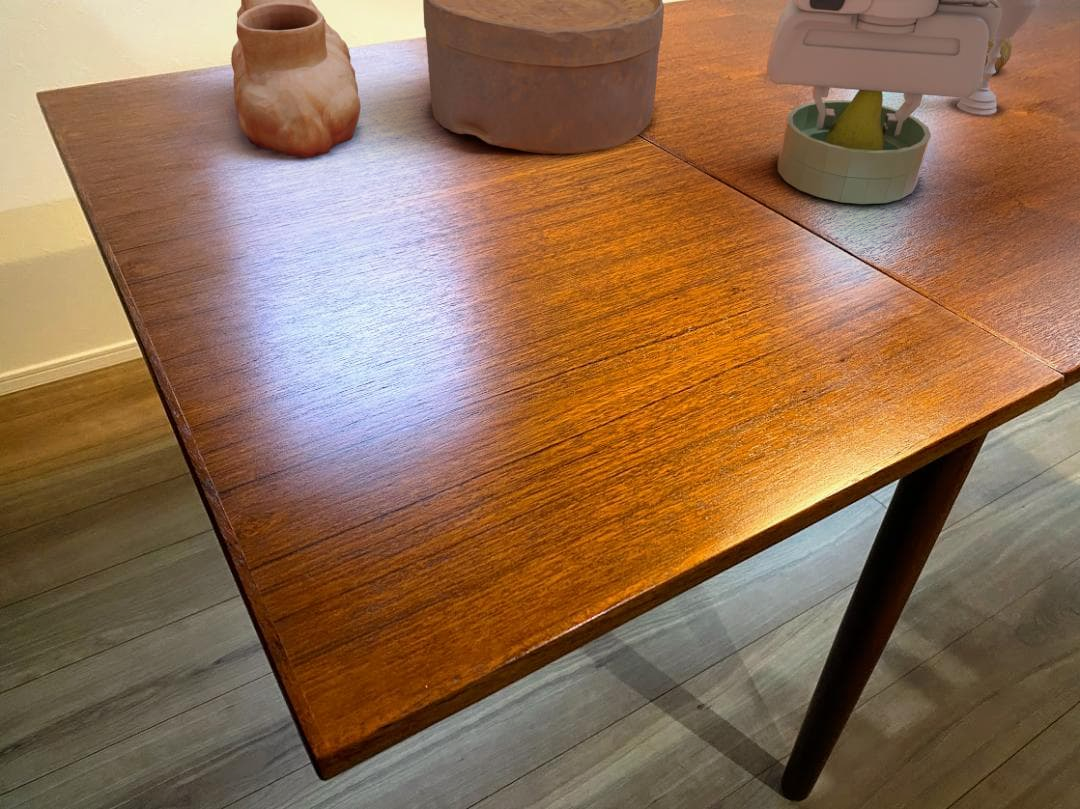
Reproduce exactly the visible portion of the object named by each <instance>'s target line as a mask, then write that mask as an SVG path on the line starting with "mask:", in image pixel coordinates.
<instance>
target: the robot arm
mask: <svg viewBox="0 0 1080 809" xmlns="http://www.w3.org/2000/svg"><path fill="white" fill-rule="evenodd" d="M989 3H992V4H993V5H994V6H987V5H989ZM1001 17H1002V8H1001V5H1000V3H999V2H998V1H997V0H791V1H789V2H788V3H787V5H786V6H785V7H784V8H783V10H782V11H781V13H780V16H779V18H778V21H777V24H776V27H775V30H774V33H773V36H772V40H771V43H770V47H769V52H768V58H767V61H766V74H767V76H768V78H769V79H770V81H771V82H772V83H773V84H777V85H787V86H788V85H790V86H802V87H803V86H804V87H812V90H811V91H812V98H813V100H814V102H815V103H816V106H817V109H818V111H819V113H818V118H817V124H816V127H817V130H832V127H833V124H832V123H833V122H834V118H835V113H834V109H828V108H826V106H825V104H824V101H825V100H824V98H825V99H826V98H828V96H829V92H830V89H841V90H843V89H844V90H855V91H859V90H867V91H881V92H882V93H895V94H902V98H903V100H904V102H903V103H902V104H901V106H899V108H897V109H896V110H897V111H896V113H895V114H890V113H887V114H886V117H885V121H886V122H885V123H884V125H883V134H884V135H888V136H899V134H900V131H901V128H902V124H903V120H904V121H905V120H906V119H907V118H908V117H909V116H910V115H911V116H912V114H913V113H914V112H915V111H916V110H917V109H918V108H919V107H920V105H921V101H922V98H923V96H937V97H946V98H947V97H948V98H949V97H951V98H959V99H961V98H967V97H969V96H970V95H971V94H973V93H974V92H975V91H976V90H977V89H978V88H979V86H980V83H981V81H982V76H983V71H984V66H985V61H986V56H987V49H988V42H989V41H990V40H991V39H992V38H993V37H994V35H995V34H996V32H997V30H998V26H999V23H1000V20H1001Z"/></svg>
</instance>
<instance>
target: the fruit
mask: <svg viewBox="0 0 1080 809" xmlns="http://www.w3.org/2000/svg"><path fill="white" fill-rule="evenodd" d="M883 95H884V94H883V92H881V91H867V90H857V92H856V94H855V95H854V97H853V99H852V100H850V101H851V103H850V104H849V106H848V107H847V108H846V110H845V111H844V112H843V114H842V115H841V116H840V117H839V118H838V119H837V120H836V121H835V122H834V124H833V127H832V130H829V132H828V134H827V137H826V140H825V142H826V143H828V144H831V145H836V146H841V147H846V148H851V149H861V150H873V151H879V150H883V145H884V135H883V130H882V125H881V110H882V105H883V101H884V100H883V98H884V97H883Z"/></svg>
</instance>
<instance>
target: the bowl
mask: <svg viewBox="0 0 1080 809" xmlns="http://www.w3.org/2000/svg"><path fill="white" fill-rule="evenodd" d="M823 101H824V104H825V106H826V108H828V109H834V113H835V118H834V122H835V121H836V120H837V119H838V118H839V117H840V116H841V115H842V114H843V112H844V111H845V110H846V108H847V107H848V106H849V104H850V103H851V101H852V100H846V99H835V100H832V99H831V100H823ZM897 110H898V109H896V108H893V107H889V106H886V105H883V104H882V110H881V125H882V130H883V125H884V123H885V122H886V121H885V117H886V114H887V113H890V114H895V113H896V111H897ZM818 113H819V111H818V109H817V106H816V103H815V101H811V102H807V103H806V102H805V103H803V104H801V105H798V106H796V107H794V108H792V109H791V111H789V112H788V114H786V117H785V118H786V119H785V124H784V128H783V134H782V139H781V145H780V149H779V154H778V160H777V173H778V174H779V175H780V177H781V178H782V179H783V181H784V182H786V183H787V184H789V185H790V186H792V187H794V188H795V189H797V190H798V191H800V192H804V193H806V194H809V195H811V196H814V197H817V198H819V199H820V198H821V199H825V200H829V201H834V202H838V203H845V204H846V203H847V204H856V205H872V204H873V205H874V204H875V205H876V204H888V203H891V202H895V201H901V200H903V199H904V198H906V197H907V196H909V195H911V194H913V192H914V190H915V188H916V186H917V183H918V180H919V177H920V174H921V170H922V167H923V163H924V160H925V157H926V154H927V151H928V148H929V144H930V140H931V137H932V134H931V131H930V129H929V127H928V125H926V124H925V123H924V122H922V121H921V120H920V119H919V118H917V117H915V116H913V115H912V114H911V115H910V116H909V117H908V118H907V119H906V120H905V121H904V120H903V124H902V128H901V131H900V134H899V136H888V135H884V134H883V135H884V145H883V150H879V151H873V150H861V149H851V148H846V147H841V146H836V145H831V144H828V143H826V142H825V140H826V137H827V134H828V132H829V130H817V127H816V124H817V118H818ZM834 122H833V123H832V124H834Z"/></svg>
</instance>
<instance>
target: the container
mask: <svg viewBox="0 0 1080 809" xmlns="http://www.w3.org/2000/svg"><path fill="white" fill-rule="evenodd" d="M422 7H423V8H422V9H423V10H422V11H423V26H424V27H423V28H424V30H425V40H426V52H427V53H426V55H427V65H428V68H427V69H428V79H429V89H430V99H431V109H432V110H431V111H432V114H433V116H434V119H435V121H437V122H438V123H439V125H441V127H442V128H443V129H446V130H448V131H450V132H452V133H455V134H459V135H464V134H465V135H471V136H476V137H477V138H478V139H481V140H482V141H483V142H485V143H486V144H488V145H491V146H497V147H501V148H507V149H512V150H517V151H521V152H528V153H534V154H535V153H536V154H543V155H580V154H586V153H592V152H598V151H605V150H609V149H613V148H615V147H620V146H623V145H624V144H626V143H628V142H629V141H631V140H632V139H634V138H636V137H637V136H638V135H639V134H641V133H642V132H643V131H644V130H646V129H647V127H648V126H649V125H650V123H651V121H652V116H653V112H654V107H655V106H654V105H655V100H656V89H657V79H658V78H657V77H658V66H659V65H658V64H659V54H660V45H661V40H662V38H663V30H664V14H665V6H664V1H663V0H422Z"/></svg>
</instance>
